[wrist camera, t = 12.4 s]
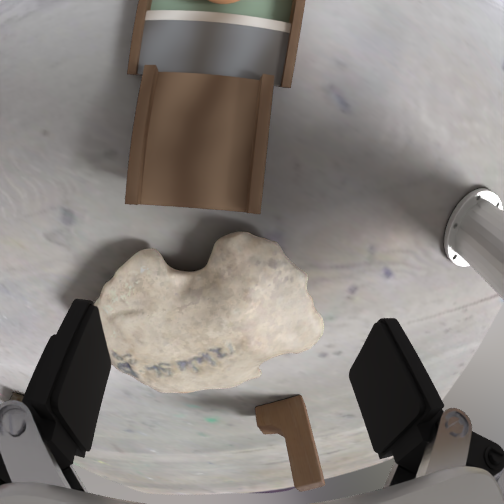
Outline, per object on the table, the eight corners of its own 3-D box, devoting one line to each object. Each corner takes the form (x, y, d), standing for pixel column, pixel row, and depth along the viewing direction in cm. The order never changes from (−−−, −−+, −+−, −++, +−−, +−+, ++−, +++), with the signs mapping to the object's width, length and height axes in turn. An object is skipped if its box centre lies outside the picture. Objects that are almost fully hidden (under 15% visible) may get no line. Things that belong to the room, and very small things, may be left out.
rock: (329, 326, 44) (160, 387, 48) (265, 181, 31) (57, 289, 35) (345, 366, 38) (158, 424, 42) (279, 212, 25) (37, 329, 29)
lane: (306, -34, 19) (330, -60, 13) (266, 196, 32) (279, 227, 26) (156, -48, 17) (141, -78, 11) (126, 185, 29) (105, 214, 23)
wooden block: (260, 416, 54) (273, 497, 39) (254, 406, 52) (266, 493, 37) (305, 404, 54) (325, 485, 38) (300, 393, 52) (322, 481, 36)
